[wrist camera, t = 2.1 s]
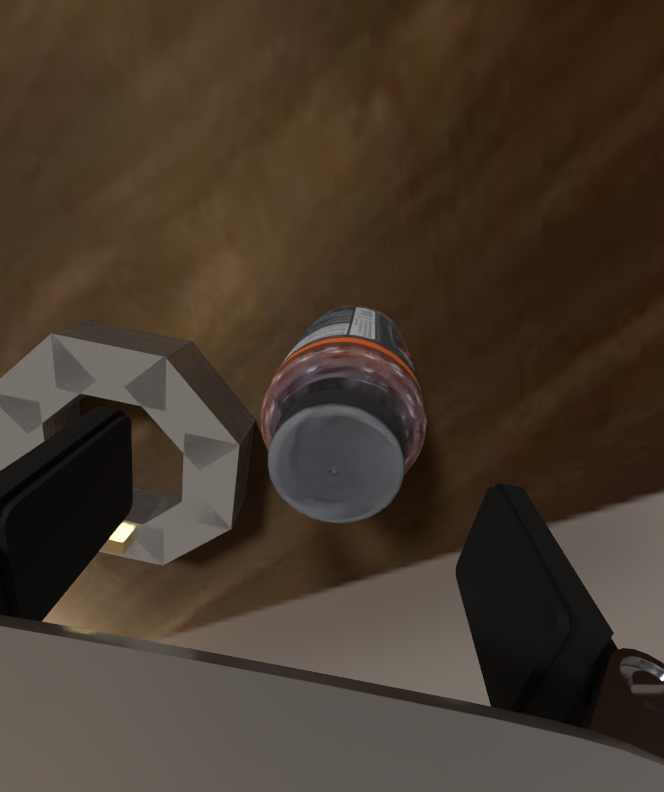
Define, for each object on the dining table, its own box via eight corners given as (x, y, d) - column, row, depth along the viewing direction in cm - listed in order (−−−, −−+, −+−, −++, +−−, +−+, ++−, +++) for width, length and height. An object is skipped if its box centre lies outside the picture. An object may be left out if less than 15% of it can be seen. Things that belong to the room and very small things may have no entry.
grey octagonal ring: (263, 355, 22) (242, 378, 19) (241, 544, 28) (222, 588, 24) (20, 305, 22) (-43, 319, 19) (46, 503, 28) (1, 540, 25)
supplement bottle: (418, 395, 22) (456, 540, 12) (316, 415, 23) (269, 565, 13) (396, 288, 20) (420, 351, 10) (286, 316, 21) (201, 400, 11)
